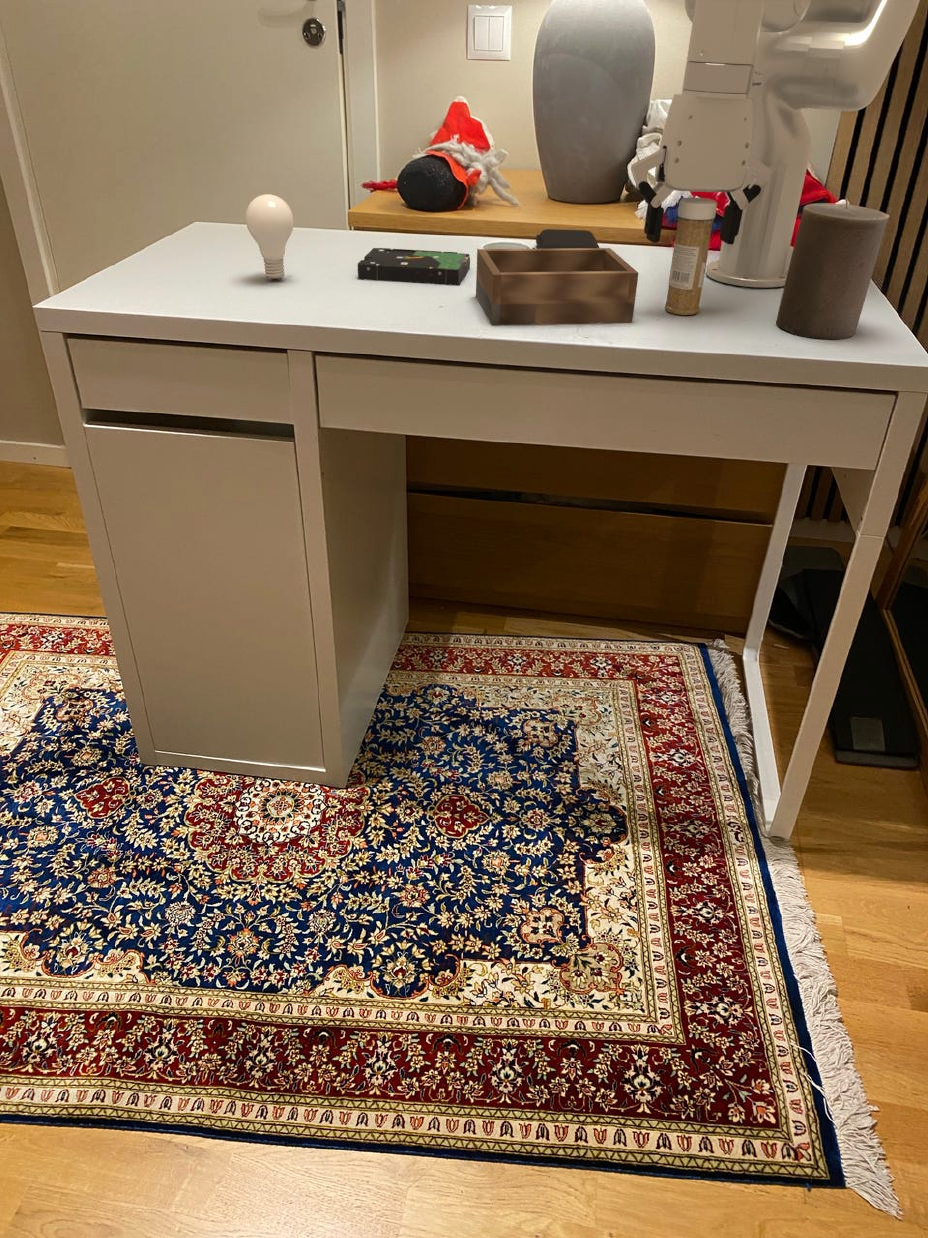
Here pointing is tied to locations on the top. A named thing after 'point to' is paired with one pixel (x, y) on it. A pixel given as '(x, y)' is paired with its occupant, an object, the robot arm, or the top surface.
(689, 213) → the spice jar
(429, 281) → the disk drive
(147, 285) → the top surface
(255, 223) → the lightbulb
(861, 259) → the pillar candle
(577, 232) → the carrying case or bag
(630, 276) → the wooden box
